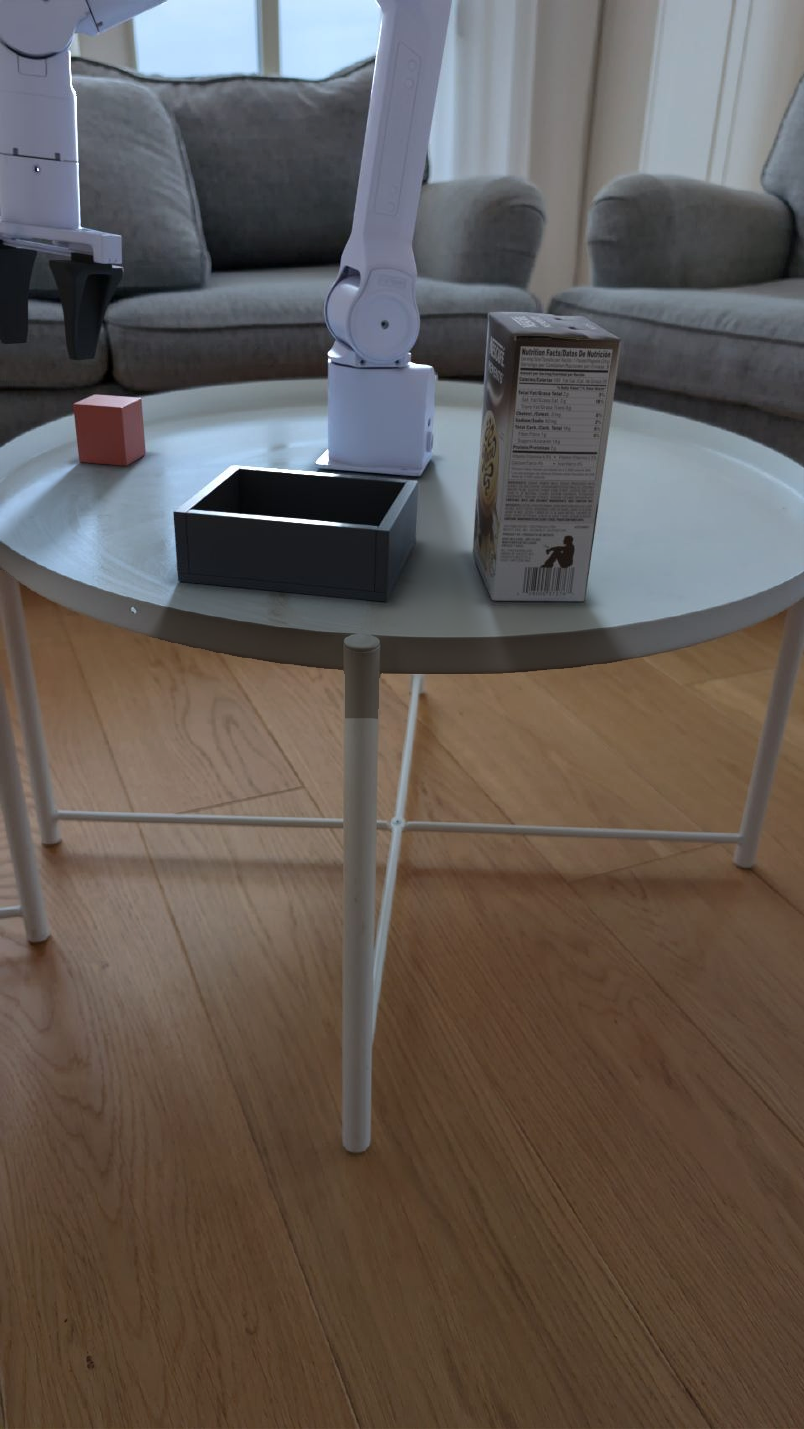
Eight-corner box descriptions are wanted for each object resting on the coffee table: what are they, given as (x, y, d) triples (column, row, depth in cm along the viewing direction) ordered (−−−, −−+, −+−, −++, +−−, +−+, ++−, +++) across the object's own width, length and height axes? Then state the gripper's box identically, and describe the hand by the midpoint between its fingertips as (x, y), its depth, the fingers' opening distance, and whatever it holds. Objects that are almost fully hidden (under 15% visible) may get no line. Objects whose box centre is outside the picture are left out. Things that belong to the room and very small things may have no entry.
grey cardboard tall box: (468, 554, 72) (485, 310, 65) (557, 554, 73) (585, 313, 65) (488, 602, 64) (511, 331, 57) (589, 603, 65) (625, 334, 57)
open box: (415, 543, 74) (418, 480, 72) (386, 602, 64) (389, 531, 62) (233, 527, 76) (231, 465, 74) (177, 581, 66) (172, 511, 63)
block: (146, 454, 93) (141, 397, 91) (126, 466, 89) (121, 407, 87) (100, 450, 94) (94, 394, 91) (79, 462, 90) (72, 403, 88)
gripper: (-75, 145, 76) (-57, 339, 82) (67, 163, 70) (75, 370, 76) (2, 153, 81) (14, 334, 87) (141, 170, 75) (142, 363, 81)
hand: (47, 351), depth 82 cm, fingers open, 7 cm apart
